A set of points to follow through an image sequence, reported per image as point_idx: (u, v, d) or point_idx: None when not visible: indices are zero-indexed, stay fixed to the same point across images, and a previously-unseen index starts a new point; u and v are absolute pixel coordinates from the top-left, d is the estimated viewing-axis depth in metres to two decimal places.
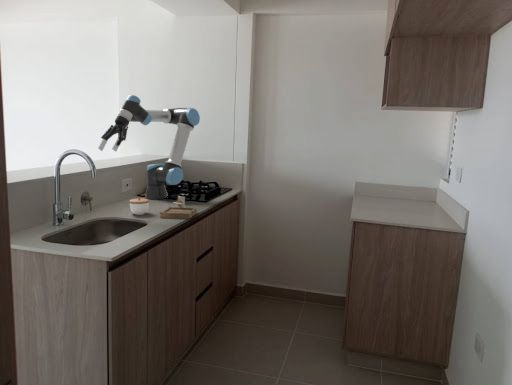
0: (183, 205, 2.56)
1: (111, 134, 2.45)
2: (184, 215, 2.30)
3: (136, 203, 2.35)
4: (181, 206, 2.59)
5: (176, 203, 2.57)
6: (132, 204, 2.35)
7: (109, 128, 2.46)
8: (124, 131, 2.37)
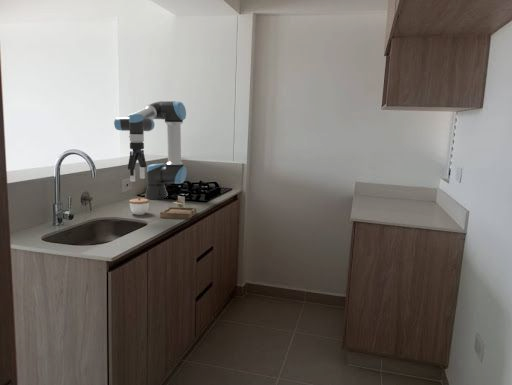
0: (183, 205, 2.56)
1: (140, 160, 2.40)
2: (184, 215, 2.30)
3: (136, 203, 2.35)
4: (181, 206, 2.59)
5: (176, 203, 2.57)
6: (132, 204, 2.35)
7: None
8: (130, 159, 2.28)
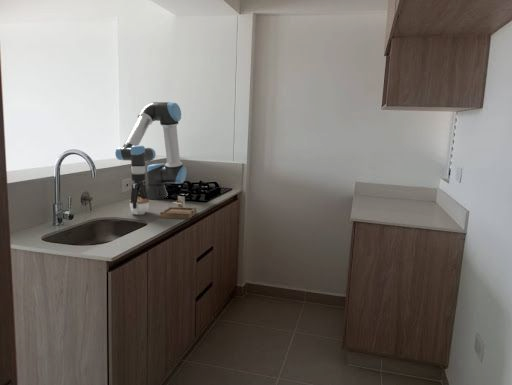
0: (183, 205, 2.56)
1: (141, 191, 2.42)
2: (184, 215, 2.30)
3: None
4: (181, 206, 2.59)
5: (176, 203, 2.57)
6: (132, 204, 2.35)
7: None
8: (132, 192, 2.31)
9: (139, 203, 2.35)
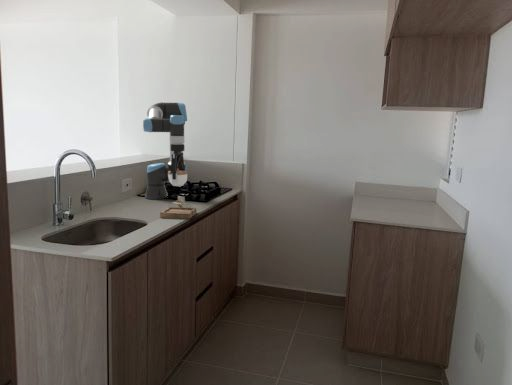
0: (183, 205, 2.56)
1: (179, 163, 2.37)
2: (184, 215, 2.30)
3: None
4: (181, 206, 2.59)
5: (176, 203, 2.57)
6: (171, 175, 2.30)
7: None
8: (172, 162, 2.26)
9: (178, 174, 2.29)
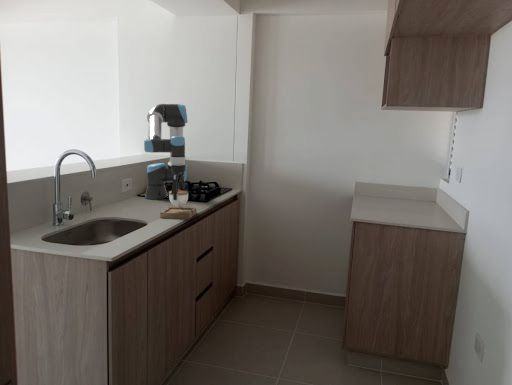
0: None
1: (180, 183, 2.39)
2: (184, 215, 2.30)
3: None
4: (181, 206, 2.59)
5: None
6: (172, 196, 2.32)
7: None
8: (173, 183, 2.28)
9: (179, 195, 2.31)
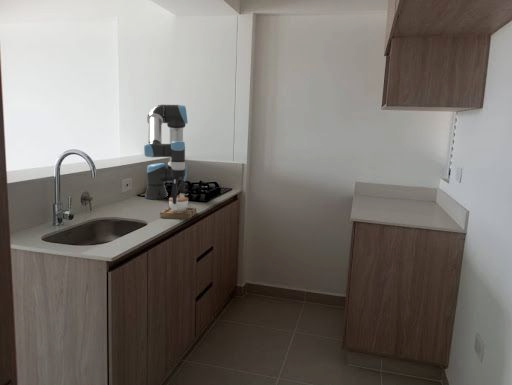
0: None
1: (181, 187, 2.40)
2: (184, 215, 2.30)
3: None
4: None
5: None
6: None
7: None
8: (173, 187, 2.28)
9: (179, 201, 2.32)
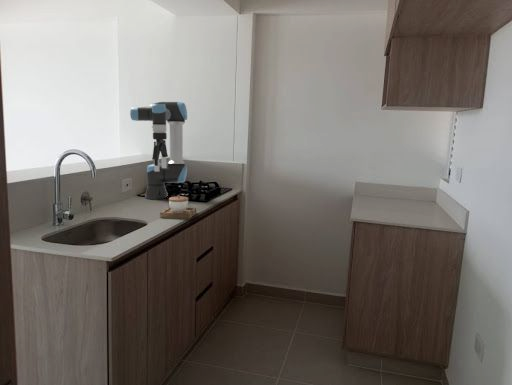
0: None
1: (162, 150, 2.44)
2: (184, 215, 2.30)
3: (176, 201, 2.32)
4: None
5: None
6: (172, 202, 2.33)
7: None
8: (154, 149, 2.31)
9: (179, 201, 2.32)
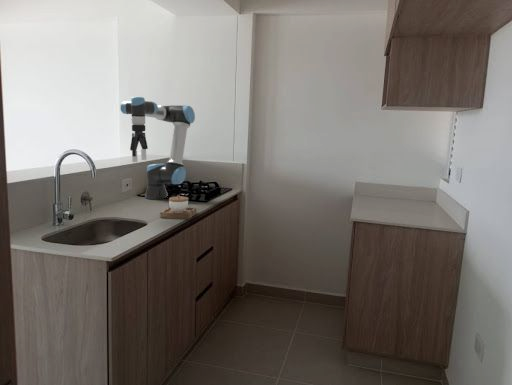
0: None
1: (142, 142, 2.50)
2: (184, 215, 2.30)
3: (176, 201, 2.32)
4: None
5: None
6: (172, 202, 2.33)
7: None
8: (132, 140, 2.38)
9: (179, 201, 2.32)
